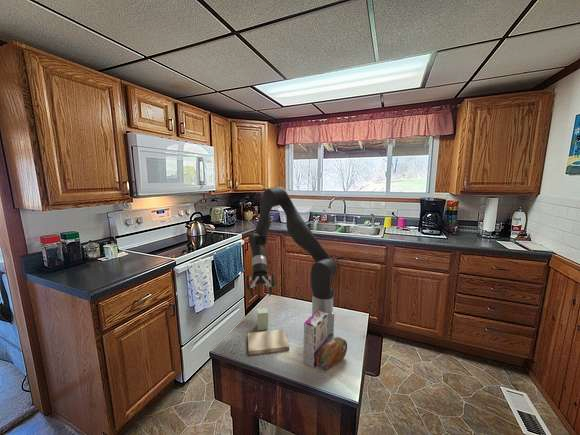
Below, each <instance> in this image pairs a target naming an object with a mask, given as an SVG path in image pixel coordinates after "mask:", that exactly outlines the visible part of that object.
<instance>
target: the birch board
mask: <svg viewBox="0 0 580 435" xmlns="http://www.w3.org/2000/svg"><path fill="white" fill-rule="evenodd" d="M247 351H248V355H249V356H250V355H258V354H266V353H267V354H268V353H275V352H282V351H290V345H289V341H288V338H287V334H286V332H285V329H275V330H262V331H255V332H247Z"/></svg>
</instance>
